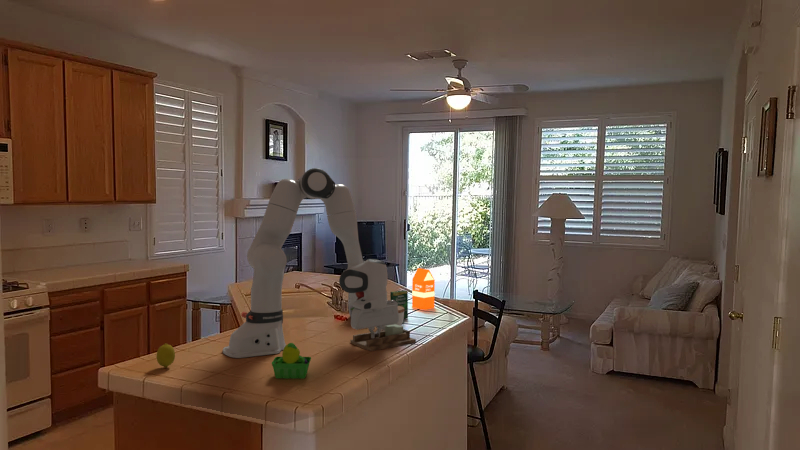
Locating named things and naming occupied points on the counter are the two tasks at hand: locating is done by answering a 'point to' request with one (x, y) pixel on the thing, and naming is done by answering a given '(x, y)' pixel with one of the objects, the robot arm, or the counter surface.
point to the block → (393, 329)
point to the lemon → (165, 355)
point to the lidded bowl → (401, 317)
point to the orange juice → (423, 289)
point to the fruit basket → (291, 363)
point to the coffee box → (401, 300)
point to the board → (382, 340)
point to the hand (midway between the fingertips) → (375, 337)
